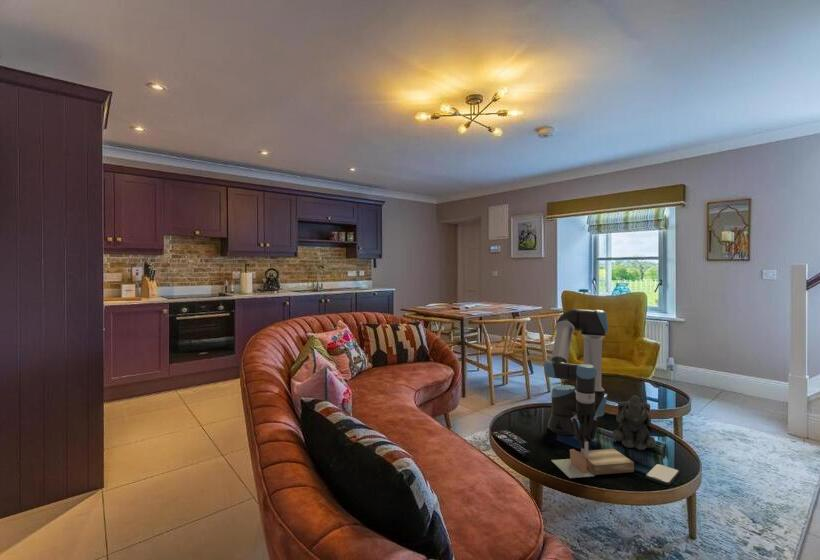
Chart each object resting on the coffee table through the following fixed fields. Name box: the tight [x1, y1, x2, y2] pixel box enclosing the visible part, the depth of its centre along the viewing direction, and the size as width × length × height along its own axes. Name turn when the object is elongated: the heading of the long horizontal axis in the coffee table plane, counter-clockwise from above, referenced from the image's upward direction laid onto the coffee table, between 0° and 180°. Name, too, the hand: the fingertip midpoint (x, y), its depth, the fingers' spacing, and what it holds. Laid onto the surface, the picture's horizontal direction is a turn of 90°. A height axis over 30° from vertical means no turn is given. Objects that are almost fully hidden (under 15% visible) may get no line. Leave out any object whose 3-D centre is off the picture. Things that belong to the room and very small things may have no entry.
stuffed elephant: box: [611, 395, 656, 451], centre depth 195 cm, size 19×21×27 cm
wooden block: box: [576, 448, 635, 476], centre depth 173 cm, size 13×18×4 cm
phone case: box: [645, 463, 680, 487], centre depth 166 cm, size 9×2×16 cm
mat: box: [551, 458, 595, 479], centre depth 171 cm, size 15×11×1 cm
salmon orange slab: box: [569, 448, 588, 473], centre depth 171 cm, size 9×6×2 cm
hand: (584, 455), depth 172 cm, fingers closed
